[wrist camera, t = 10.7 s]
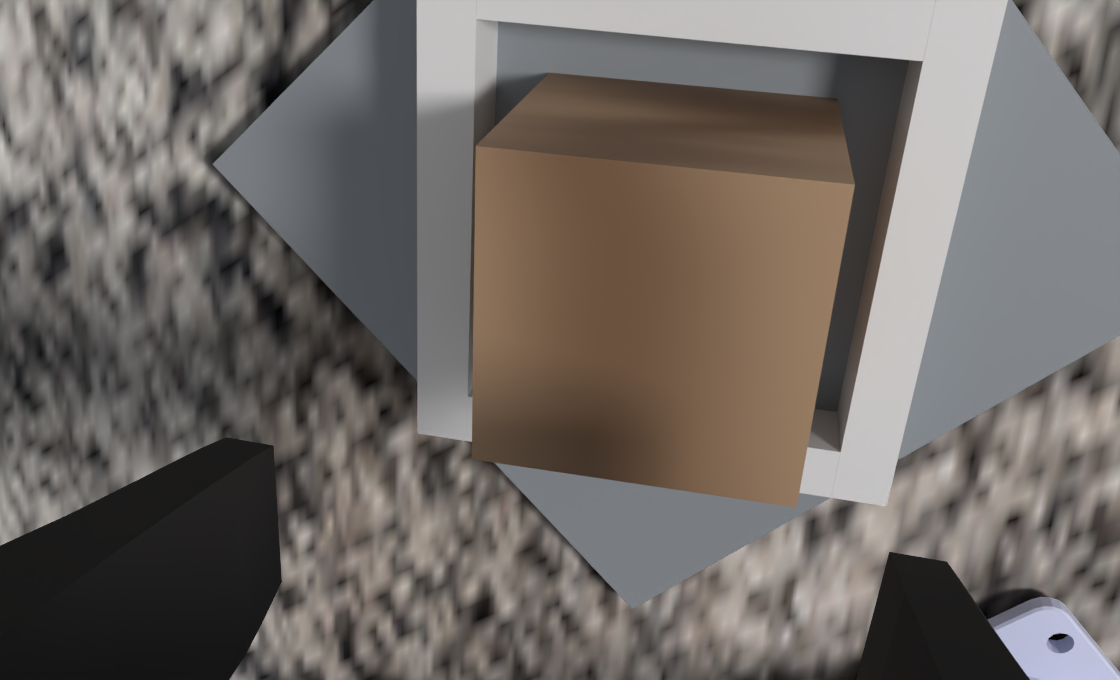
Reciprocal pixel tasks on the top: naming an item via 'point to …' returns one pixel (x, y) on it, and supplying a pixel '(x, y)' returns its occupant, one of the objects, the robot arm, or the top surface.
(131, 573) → the robot arm
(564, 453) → the block
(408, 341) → the base plate
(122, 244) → the top surface
